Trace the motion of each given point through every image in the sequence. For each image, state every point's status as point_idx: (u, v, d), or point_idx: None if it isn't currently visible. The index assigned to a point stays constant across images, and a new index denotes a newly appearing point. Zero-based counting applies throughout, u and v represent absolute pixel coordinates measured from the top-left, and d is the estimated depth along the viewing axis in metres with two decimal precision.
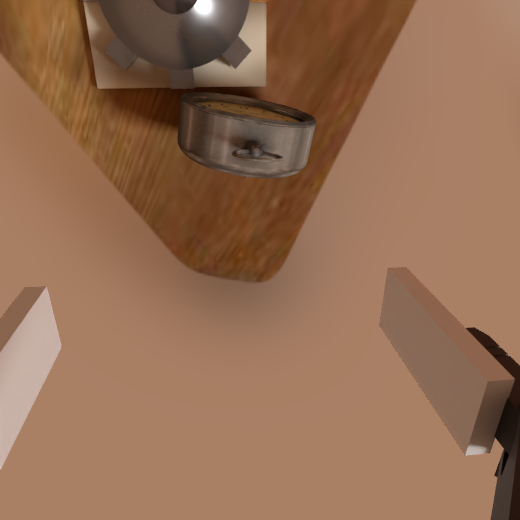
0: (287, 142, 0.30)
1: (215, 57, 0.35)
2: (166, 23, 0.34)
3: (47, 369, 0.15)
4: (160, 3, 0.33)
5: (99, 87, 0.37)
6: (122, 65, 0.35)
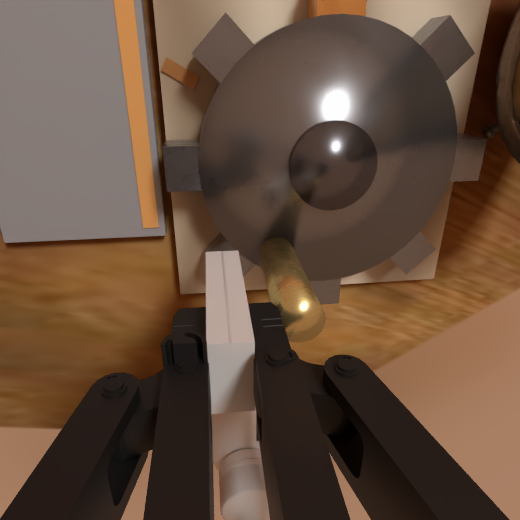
0: None
1: (448, 95, 0.18)
2: (383, 181, 0.20)
3: None
4: (359, 190, 0.19)
5: (432, 276, 0.25)
6: (429, 252, 0.22)
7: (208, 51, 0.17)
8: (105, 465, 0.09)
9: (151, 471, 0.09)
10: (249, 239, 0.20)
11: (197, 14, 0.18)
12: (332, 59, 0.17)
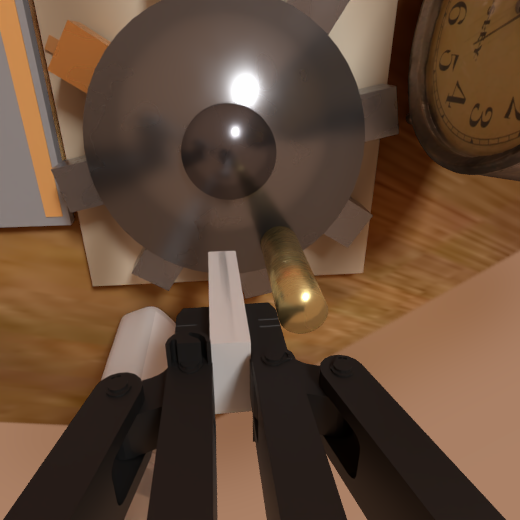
0: None
1: None
2: (278, 108, 0.17)
3: None
4: (267, 141, 0.17)
5: (361, 270, 0.24)
6: (393, 95, 0.18)
7: (75, 199, 0.18)
8: (109, 465, 0.09)
9: (155, 471, 0.09)
10: (250, 256, 0.20)
11: None
12: (131, 99, 0.17)
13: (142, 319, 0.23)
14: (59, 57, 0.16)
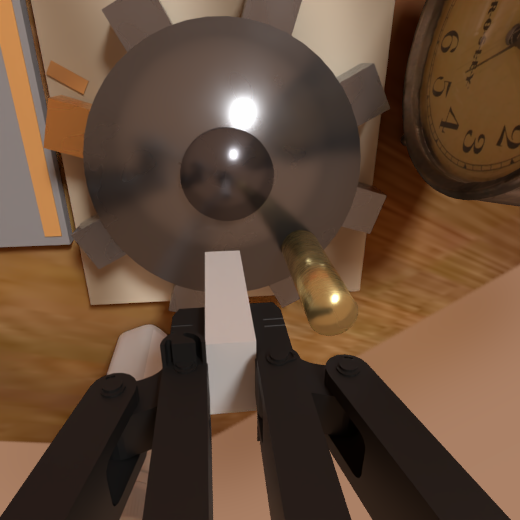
0: None
1: (187, 23, 0.16)
2: (263, 119, 0.17)
3: None
4: (260, 154, 0.18)
5: (358, 288, 0.24)
6: (374, 73, 0.17)
7: (99, 256, 0.19)
8: (104, 465, 0.09)
9: (150, 471, 0.09)
10: (275, 266, 0.21)
11: (80, 16, 0.17)
12: (124, 151, 0.17)
13: (140, 338, 0.23)
14: (50, 133, 0.17)
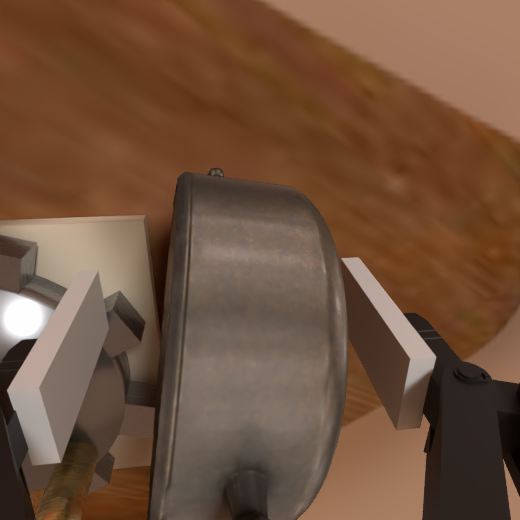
0: (233, 378, 0.09)
1: None
2: None
3: (100, 347, 0.16)
4: None
5: None
6: (114, 317, 0.17)
7: None
8: None
9: None
10: None
11: None
12: None
13: None
14: None
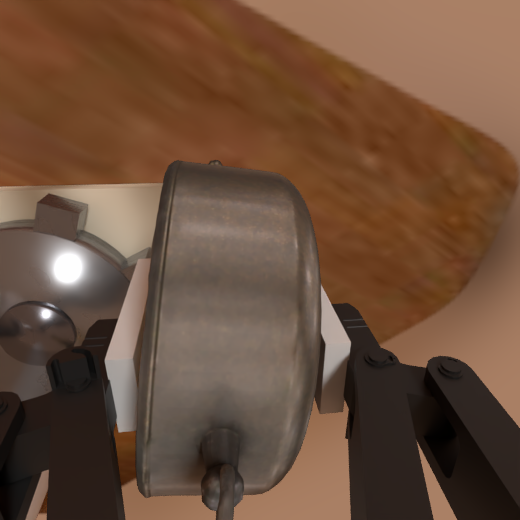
0: (206, 342, 0.10)
1: None
2: (61, 296, 0.23)
3: None
4: (60, 322, 0.23)
5: None
6: None
7: None
8: None
9: (49, 501, 0.08)
10: None
11: None
12: None
13: None
14: None
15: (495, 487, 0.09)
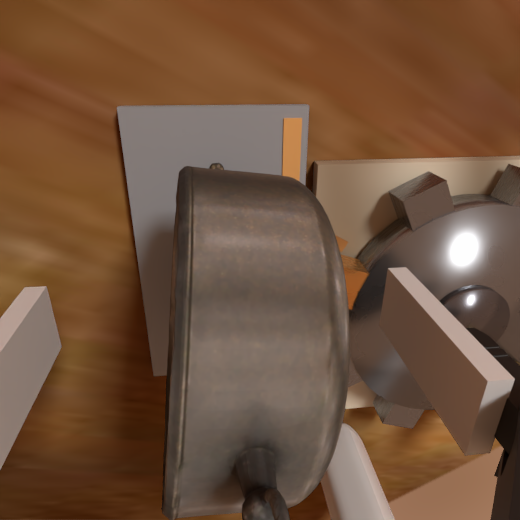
0: (239, 359, 0.09)
1: (468, 210, 0.18)
2: (506, 279, 0.20)
3: (47, 369, 0.15)
4: (502, 308, 0.20)
5: None
6: None
7: None
8: None
9: None
10: None
11: (353, 194, 0.20)
12: None
13: (344, 440, 0.26)
14: None
15: None
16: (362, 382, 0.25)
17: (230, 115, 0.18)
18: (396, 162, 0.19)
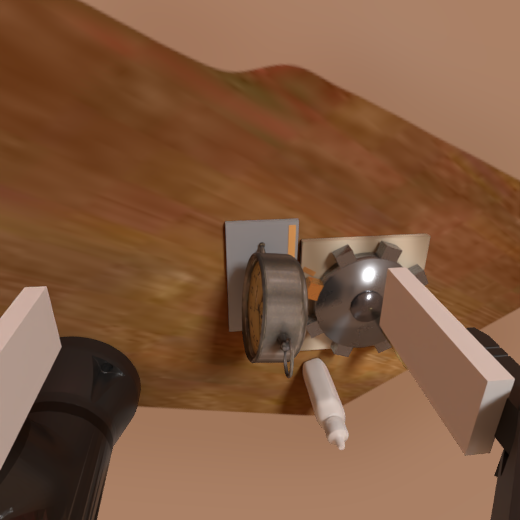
0: (279, 310, 0.37)
1: (362, 261, 0.46)
2: (382, 288, 0.48)
3: (47, 369, 0.15)
4: (381, 300, 0.48)
5: None
6: (423, 273, 0.48)
7: (313, 333, 0.50)
8: None
9: None
10: (378, 337, 0.51)
11: (317, 252, 0.47)
12: (332, 299, 0.48)
13: (317, 364, 0.53)
14: (308, 293, 0.47)
15: None
16: (325, 336, 0.53)
17: (268, 224, 0.45)
18: (335, 240, 0.47)
